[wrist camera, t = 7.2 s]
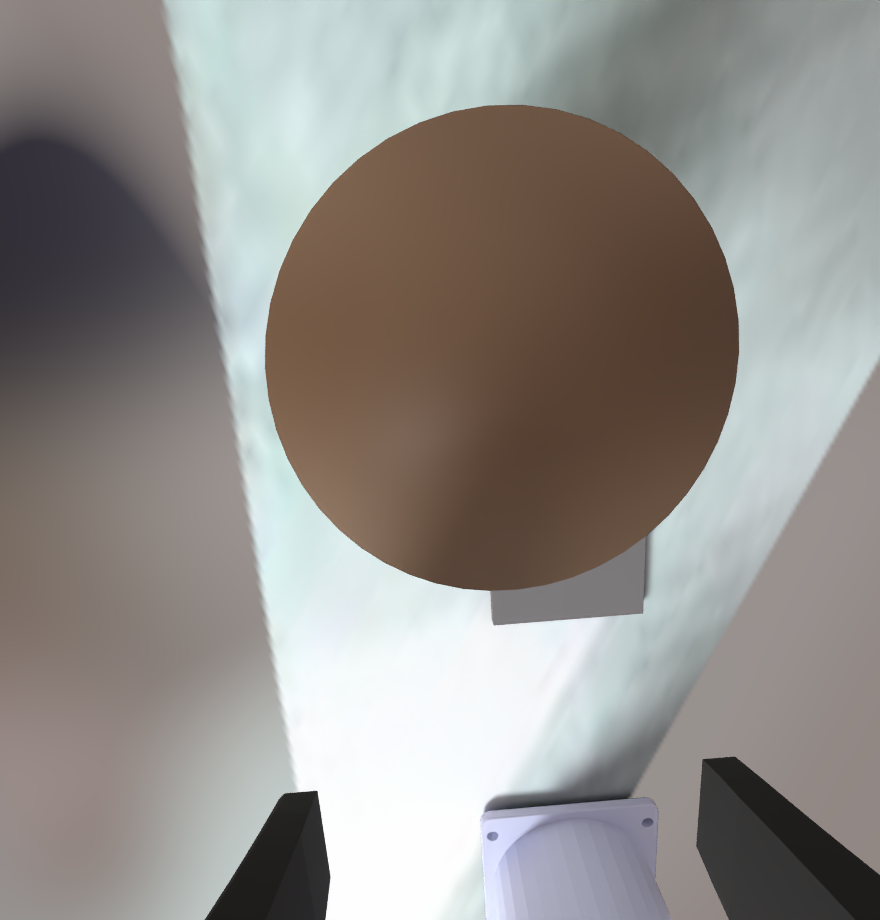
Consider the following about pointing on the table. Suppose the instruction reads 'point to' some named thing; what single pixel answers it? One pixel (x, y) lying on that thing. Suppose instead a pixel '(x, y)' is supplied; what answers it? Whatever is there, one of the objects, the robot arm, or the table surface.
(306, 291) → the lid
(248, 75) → the table surface
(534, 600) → the mat
